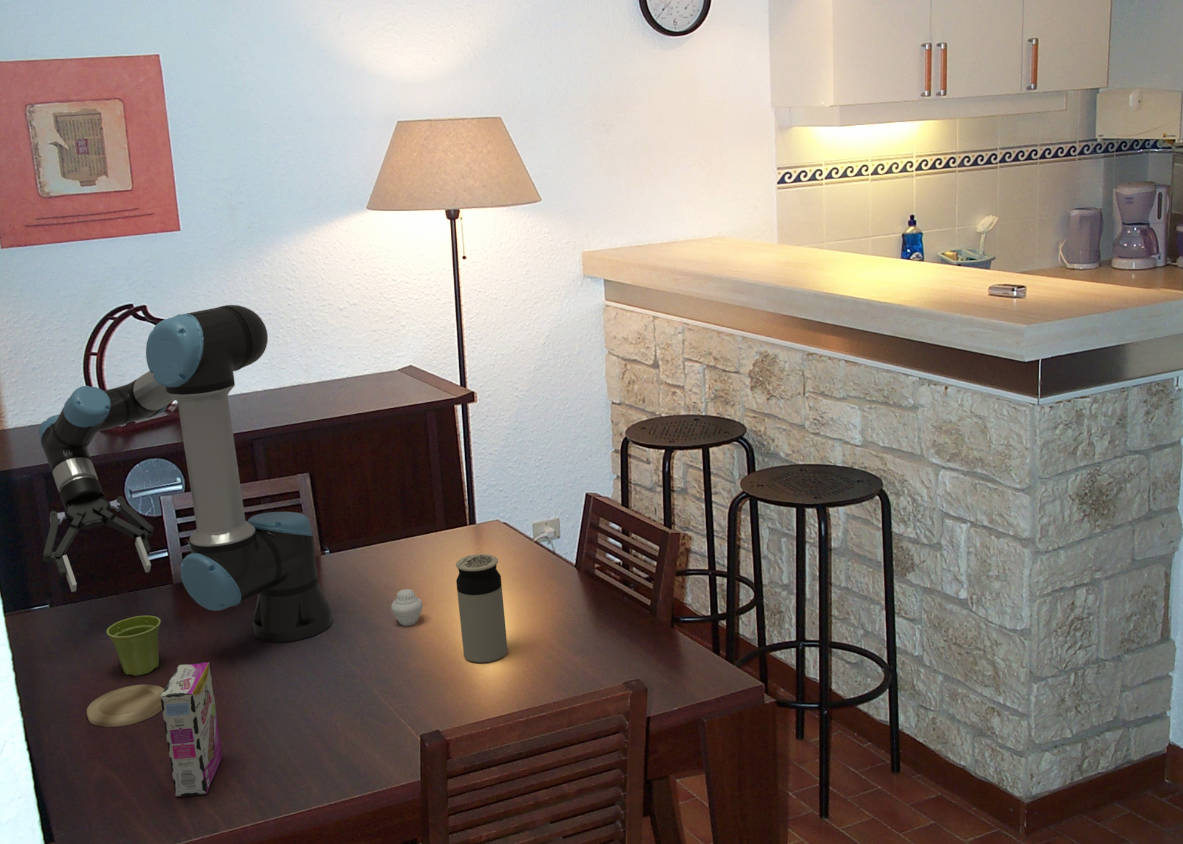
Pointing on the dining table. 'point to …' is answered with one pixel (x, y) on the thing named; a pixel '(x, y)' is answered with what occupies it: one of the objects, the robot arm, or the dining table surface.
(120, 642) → the plant pot
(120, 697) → the plate
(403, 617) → the muffin
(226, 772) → the dining table surface
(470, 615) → the travel mug
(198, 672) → the candy bar box
